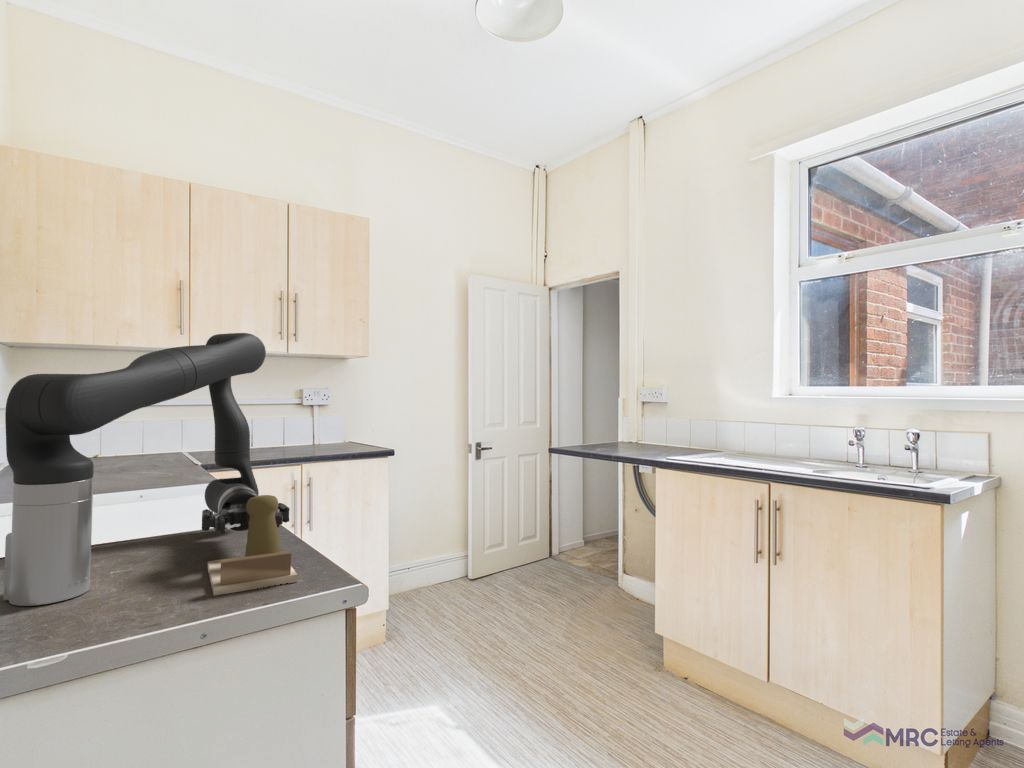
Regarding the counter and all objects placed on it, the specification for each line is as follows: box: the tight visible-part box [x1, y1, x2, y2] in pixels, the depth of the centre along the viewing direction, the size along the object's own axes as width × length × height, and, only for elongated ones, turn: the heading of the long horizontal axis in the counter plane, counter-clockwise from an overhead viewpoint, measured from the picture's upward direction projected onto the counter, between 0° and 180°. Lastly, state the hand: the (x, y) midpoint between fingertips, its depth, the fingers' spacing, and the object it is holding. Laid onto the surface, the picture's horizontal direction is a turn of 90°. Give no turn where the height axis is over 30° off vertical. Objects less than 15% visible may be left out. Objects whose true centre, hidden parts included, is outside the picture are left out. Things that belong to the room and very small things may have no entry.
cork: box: [244, 494, 283, 557], centre depth 95 cm, size 6×6×11 cm
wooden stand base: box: [207, 550, 298, 597], centre depth 91 cm, size 15×12×5 cm
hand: (250, 524), depth 93 cm, fingers open, 8 cm apart
